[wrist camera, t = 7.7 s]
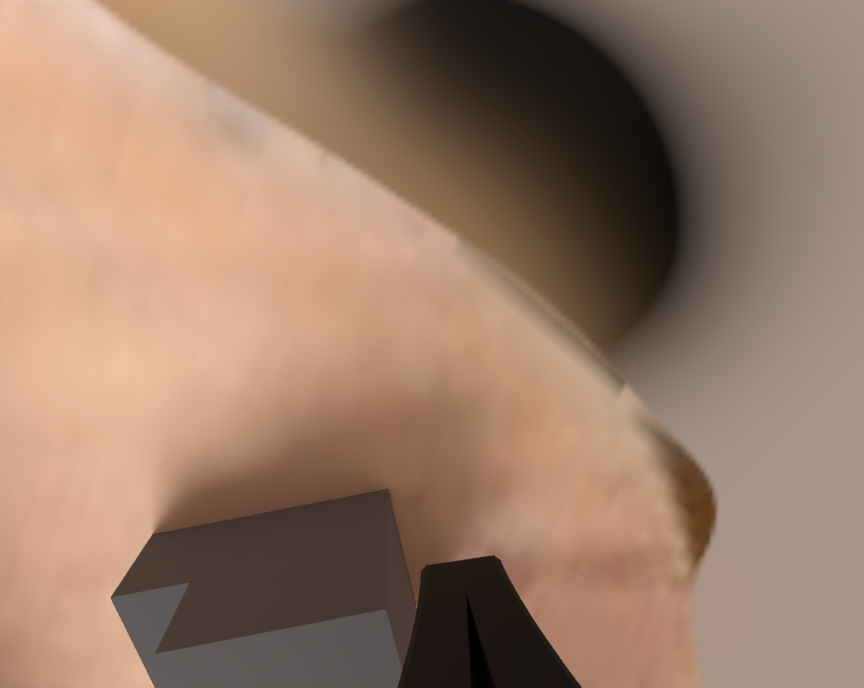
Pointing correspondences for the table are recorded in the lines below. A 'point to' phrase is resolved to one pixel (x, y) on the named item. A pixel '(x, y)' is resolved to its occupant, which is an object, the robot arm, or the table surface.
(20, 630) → the table surface
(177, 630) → the dark grey block
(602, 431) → the table surface
